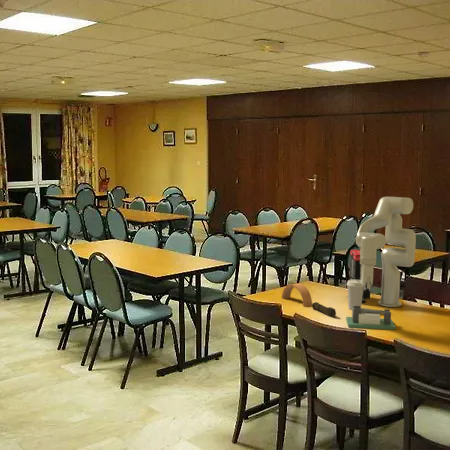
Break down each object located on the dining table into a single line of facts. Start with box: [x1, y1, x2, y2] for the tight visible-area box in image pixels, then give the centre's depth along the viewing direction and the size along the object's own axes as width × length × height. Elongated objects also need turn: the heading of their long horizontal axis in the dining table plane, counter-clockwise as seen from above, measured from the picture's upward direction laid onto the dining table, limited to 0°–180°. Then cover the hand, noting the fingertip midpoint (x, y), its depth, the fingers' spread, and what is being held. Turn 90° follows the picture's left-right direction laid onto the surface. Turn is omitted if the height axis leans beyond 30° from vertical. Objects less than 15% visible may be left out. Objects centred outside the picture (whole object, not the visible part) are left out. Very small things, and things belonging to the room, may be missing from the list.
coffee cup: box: [346, 279, 364, 311], centre depth 324 cm, size 10×10×15 cm
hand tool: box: [311, 302, 337, 319], centre depth 315 cm, size 19×4×5 cm, turn 22°
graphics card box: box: [349, 249, 366, 304], centre depth 343 cm, size 17×7×27 cm, turn 179°
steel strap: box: [357, 305, 388, 315], centre depth 295 cm, size 3×16×2 cm, turn 83°
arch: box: [281, 283, 313, 307], centre depth 337 cm, size 6×20×10 cm, turn 31°
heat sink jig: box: [345, 306, 397, 331], centre depth 296 cm, size 13×22×8 cm, turn 83°
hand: (366, 298), depth 295 cm, fingers closed
